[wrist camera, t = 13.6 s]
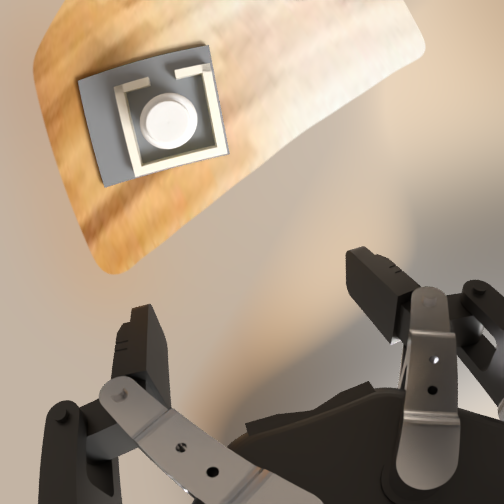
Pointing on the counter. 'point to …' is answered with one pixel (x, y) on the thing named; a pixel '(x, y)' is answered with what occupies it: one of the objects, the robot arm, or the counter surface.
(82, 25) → the counter surface
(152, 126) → the supplement bottle
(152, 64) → the grey board with frame
